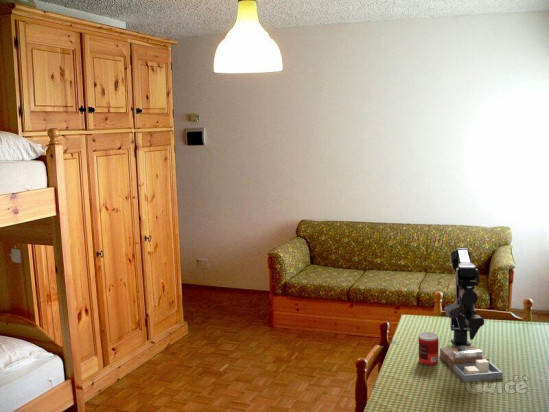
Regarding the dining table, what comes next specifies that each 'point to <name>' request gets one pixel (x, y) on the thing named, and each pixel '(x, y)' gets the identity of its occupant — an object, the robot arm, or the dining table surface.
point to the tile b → (482, 365)
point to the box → (492, 374)
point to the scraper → (466, 353)
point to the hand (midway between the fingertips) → (466, 335)
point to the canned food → (428, 348)
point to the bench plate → (448, 358)
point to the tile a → (471, 370)
